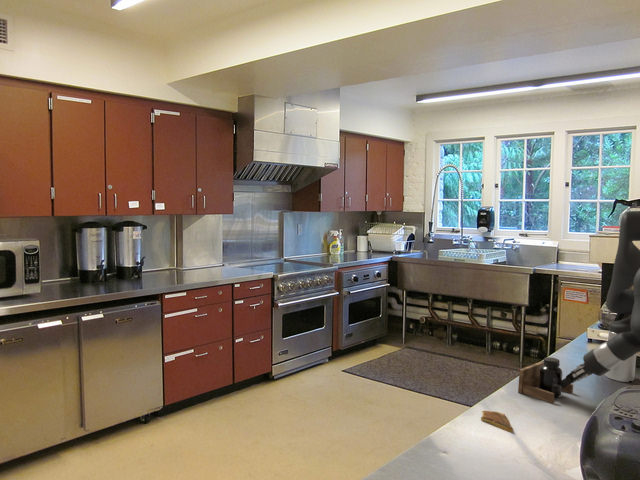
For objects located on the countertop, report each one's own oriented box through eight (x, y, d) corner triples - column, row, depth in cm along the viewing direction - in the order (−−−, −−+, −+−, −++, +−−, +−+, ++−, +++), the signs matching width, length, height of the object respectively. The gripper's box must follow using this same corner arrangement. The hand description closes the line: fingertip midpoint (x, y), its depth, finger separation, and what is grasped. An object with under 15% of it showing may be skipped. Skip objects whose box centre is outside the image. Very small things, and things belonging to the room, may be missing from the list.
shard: (513, 435, 139) (513, 428, 139) (485, 432, 140) (485, 426, 140) (504, 417, 150) (505, 412, 150) (478, 415, 151) (478, 409, 151)
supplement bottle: (559, 392, 170) (562, 357, 169) (562, 399, 164) (564, 363, 163) (537, 389, 172) (540, 355, 171) (539, 396, 166) (541, 361, 165)
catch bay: (541, 382, 179) (543, 360, 178) (573, 392, 170) (575, 369, 169) (518, 392, 169) (519, 369, 168) (550, 403, 160) (552, 379, 159)
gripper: (604, 344, 161) (563, 370, 171) (586, 351, 152) (544, 378, 162) (621, 364, 157) (578, 390, 167) (604, 373, 148) (559, 400, 159)
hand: (561, 384), depth 165 cm, fingers closed
